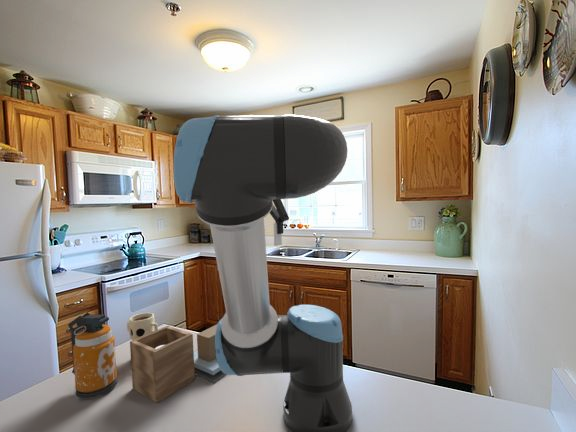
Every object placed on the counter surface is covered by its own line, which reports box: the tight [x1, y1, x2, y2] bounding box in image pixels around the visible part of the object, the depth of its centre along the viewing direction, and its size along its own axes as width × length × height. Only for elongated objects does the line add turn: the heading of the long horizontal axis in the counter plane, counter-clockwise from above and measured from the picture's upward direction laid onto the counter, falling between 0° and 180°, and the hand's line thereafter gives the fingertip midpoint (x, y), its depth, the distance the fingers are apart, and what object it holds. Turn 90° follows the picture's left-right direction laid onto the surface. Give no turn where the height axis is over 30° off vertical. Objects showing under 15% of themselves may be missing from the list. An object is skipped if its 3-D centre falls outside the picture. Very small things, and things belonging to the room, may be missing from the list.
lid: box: [193, 323, 221, 375], centre depth 87 cm, size 13×13×9 cm
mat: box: [194, 367, 228, 384], centre depth 87 cm, size 15×14×1 cm
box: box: [129, 325, 196, 404], centre depth 78 cm, size 11×11×12 cm
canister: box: [67, 312, 118, 400], centre depth 76 cm, size 9×11×20 cm
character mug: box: [126, 312, 159, 341], centre depth 92 cm, size 11×7×13 cm, turn 77°
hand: (259, 244), depth 90 cm, fingers open, 13 cm apart
